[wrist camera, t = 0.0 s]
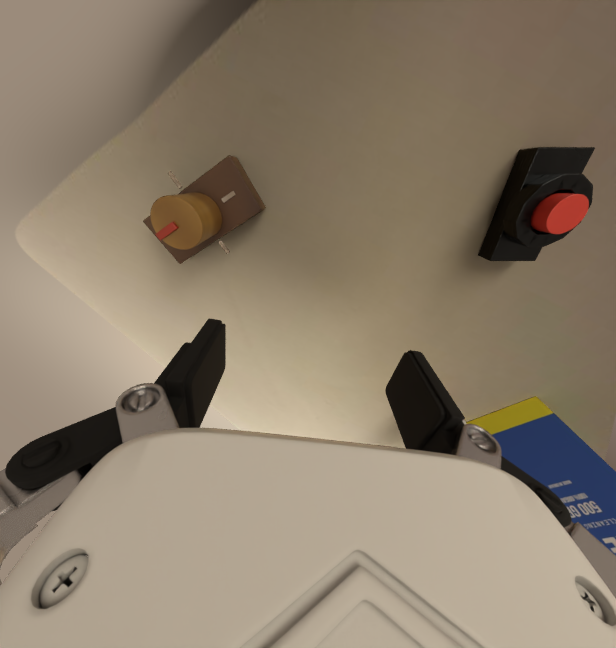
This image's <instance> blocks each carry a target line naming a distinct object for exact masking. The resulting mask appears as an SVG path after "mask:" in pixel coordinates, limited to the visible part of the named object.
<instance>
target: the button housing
mask: <svg viewBox="0 0 616 648" xmlns="http://www.w3.org/2000/svg"><path fill="white" fill-rule="evenodd" d="M594 149H595V148H594V147H538V148H531V149H524V150H519V152H518V155H517V158H516V160H515V163H514V165H513V168H512V170H511V173H510V175H509V178H508V180H507V183H506V185H505V188H504V191H503V193H502V196H501V198H500V201H499V203H498V206H497V208H496V211H495V213H494V216H493V219H492V221H491V224H490V226H489V229H488V231H487V234H486V236H485V239H484V241H483V244H482V246H481V249H480V252H479V254H478V256H481V257H483V258H485V259H487V260H490V261H535V260H536V258H537V256H538V254H539V252H540V251H541V249H542V247H544V246H547V245H549V244H551V243H553V242H556V241H558V240H560V239H562V238H564V237H565V236H566V235H567V234H568V233H569V232H570V231H572V230H573V229H574V228H575V227H576V226H577V225H576V226H575V227H574V228H573V229H571V230H569V231H567V232H565V233H562V234H551V233H547V232H542V231H538V230H535V229H534V228H533V227H532V225H531V216H532V214H533V212H534V210H535V208H536V207H537V205H538V204H539V203H540V202H541V201H542V200H544V199H545V198H547V197H548V196H550V195H553V194H556V193H570V194H582V195H585V196H586V197H587V198H588V201H589V207H590V205H591V204H592V193H593V185H592V184H591V182H590V181H589V180H588V179H587V178H586V177H585V176H584V175H583V174H582V172H583V170H584V168H585V166H586V164H587V162H588V160H589V158H590V157H591V155H592V153H593V151H594ZM589 207H588V209H589ZM581 221H582V220H581Z"/></svg>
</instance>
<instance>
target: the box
mask: <svg viewBox="0 0 616 648" xmlns="http://www.w3.org/2000/svg"><path fill="white" fill-rule="evenodd" d="M466 423H467V424H475V425H478V426H480V427H482V428H483V429H485V430H486V431H488V432H489V433H490V434H491V435H492V436H493V437H494V438H495V439H496V440H497V442H498V443H499V445H500V447H501V451H502V455H501V456H503V457H504V458H506V459H507V460H508V461H510V462H511V463H513V464H514V465H516V466H517V467H519V468H520V469H521V470H523V471H524V472H526V473H527V474H529V475H530V476H531V477H533V478H534V479H536V480H537V481H539V482H540V483H542V484H543V485H544V486H546V487H547V488H548V489H550V490H551V491H552V492H554V493H555V494H556V495H557V496H558V497H559V498H560V499H561V501H562V502H563V503H564V505H565V506H566V507H567V509H568V511H569V513H570V515H571V519H572V522H573V523H574V524H575V523H577V522H579V523H580V524H581V525H582V526H583V527H584V528H586V529H587V530H588V531H589V532H590V533H591V534H592V535H593V536H594V537H596V538H597V539H598V540H599V541H600V542H601V543H602V544H603V545H604V546H606V547H607V548H608V549H609V550H610V551H611V552H612V553H613V554H614V555H616V472H615V471H614V470H613V469H612V468H611V467H610V466H609V465H608V464H607V463H606V462H605V461H604V460H603V459H602V458H601V457H600V456H599V455H597V454H596V453H595V452H594V451H593V450H592V449H591V448H590V447H589V446H588V445H587V444H586V443H585V442H584V441H583V440H582V439H581V438H579V437H578V436H577V435H576V434H575V433H574V432H573V431H572V430H571V429H570V428H569V427H568V426H567V425H566V424H565V423H564V422H563V421H561V420H560V419H559V418H558V417H557V416H556V415H555V414H554V413H553V412H552V411H551V410H550V409H549V408H548V407H547V406H546V405H545V404H544V403H542V402H541V401H540V400H539V399H538V398H537V397H536V396H535V397H533V398H530V399H527V400H525V401H522V402H519V403H517V404H514V405H511V406H509V407H506V408H503V409H501V410H498V411H496V412H493V413H490V414H488V415H485V416H482V417H480V418H477V419H474V420H472V421H469V422H466Z"/></svg>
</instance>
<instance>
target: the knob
mask: <svg viewBox="0 0 616 648" xmlns="http://www.w3.org/2000/svg"><path fill="white" fill-rule="evenodd" d="M151 222H152V225H153V228H154V230H155V232H156V234H155V235H156V236H157V237H158V239H159V240H163V241H164V242H165V243H167V244H168V245H170V246H172V247H174V248H177V249H182V250H187V249H191V248H193V247H195V246H197V245H199V244H200V243H202V242H204V241H205V240H207V239H209V238H210V237H212V236H214V235H215V234H217V233H218V231H219V230H220V228H221V225H222V216H221V212H220V210H219V208H218V206H217V204H216V203H215V202H214V201H213V200H212V199H211V198H210V197H208V196H207V195H205V194H202V193H186V194H177V195H168V196H163V197H160V198H159V199H157V200H156V201H155V202H154V204H153V206H152V208H151Z"/></svg>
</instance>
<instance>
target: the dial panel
mask: <svg viewBox="0 0 616 648" xmlns="http://www.w3.org/2000/svg"><path fill="white" fill-rule="evenodd" d="M168 175H169V176H170V177H171V179H172V180H173V182H174V183H175V184H176V186H177V187H178V188H179V189H180V188H182V185H181V184H180V183H179V181H178V180H177V179H176V177H175V176H174V174H173V173H172V172H171V171H170V172H168ZM186 193H202V194H205V195H207V196H208V197H210V198H211V199H212V200H213V201H214V202H215V203H216V204H217V206H218V208H219V210H220V212H221V216H222V225H221V228H220V230H219V231H218V233H217V234H215V235H214V236H212V237H210V238H209V239H207V240H205V241H204V242H202V243H200V244H199V245H197V246H195V247H193V248H191V249H187V250H182V249H177V248H174V247H172V246H170V245H168V244H167V243H165V242H164V241H163V240H159V241H160V242H161V243H162V244H163V245H164V246H165V247H166V249H167V250H168V251H169V252H170V253H171V254H172V256H173V257H174V258H175V259H176V260H177V261H178V262H179V264H181V263H183V262H184V261H186V260H187V259H189V258H190V257H192V256H193V255H195V254H196V253H198V252H199V251H201V250H202V249H204V248H206V247H207V246H209V245H210V244H212V243H213V242H215V241H216V240H218V239H219V238H221V237H222V236H224V235H225V234H227V233H228V232H230V231H232V230H233V229H235V228H236V227H238V226H239V225H241V224H242V223H244V222H245V221H247V220H248V219H250V218H251V217H253V216H255V215H256V214H258V213H259V212H261V211H262V210H264V209H265V208H266V207H265V205H264V204H263V202H262V200H261V198H260V197H259V195H258V193H257V192H256V190H255V188H254V186H253V185H252V183H251V181H250V180H249V178H248V176H247V174H246V173H245V171H244V169H243V168H242V166H241V164H240V162H239V161H238V159H237V158H236V157H233V156H230V155H229V156H227V157H226V158H225V159H223V160H222V161H221V162H219V163H218V164H217V165H216V166H214V167H213V168H212V169H210V170H209V171H208V172H206V173H205V174H204V175H202V176H201V177H200V178H198V179H197V180H196V181H195V182H193V183H192V184H191V185H189V186H188V187H187V188H185V189H184V190H183V191H181V192H180V193H179V194H186ZM143 222H144V223H145V224H146V225H147V227H148V228H149V229H150V230H151V231H152V232H153V234H154V235H155V234H156V232H155V230H154V228H153V225H152V222H151V215H150V216H149V217H147V218H146V219H145V220H143ZM155 236H156V235H155ZM156 237H157V236H156ZM157 238H158V237H157ZM218 243H219V244H220V245H221V247H222V248H223V249H224V251H225V252H226V254H227V253H229V250H228V249H227V247H226V246H225V245H224V243H223V242H222V241H221V240H220V241H219V242H218Z"/></svg>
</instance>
